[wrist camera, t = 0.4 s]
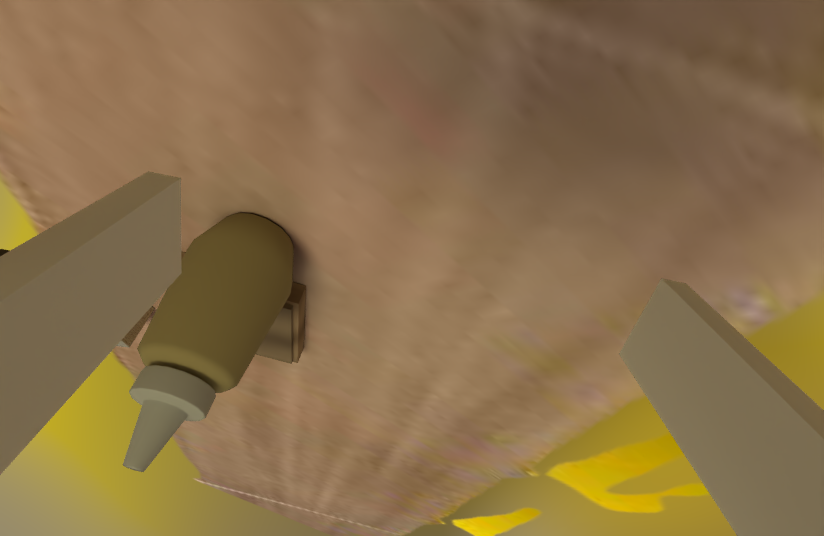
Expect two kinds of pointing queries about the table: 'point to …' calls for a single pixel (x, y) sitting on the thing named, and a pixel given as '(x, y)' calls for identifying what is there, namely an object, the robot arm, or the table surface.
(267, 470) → the table surface
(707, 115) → the table surface
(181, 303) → the squeeze bottle
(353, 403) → the table surface
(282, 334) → the stand
